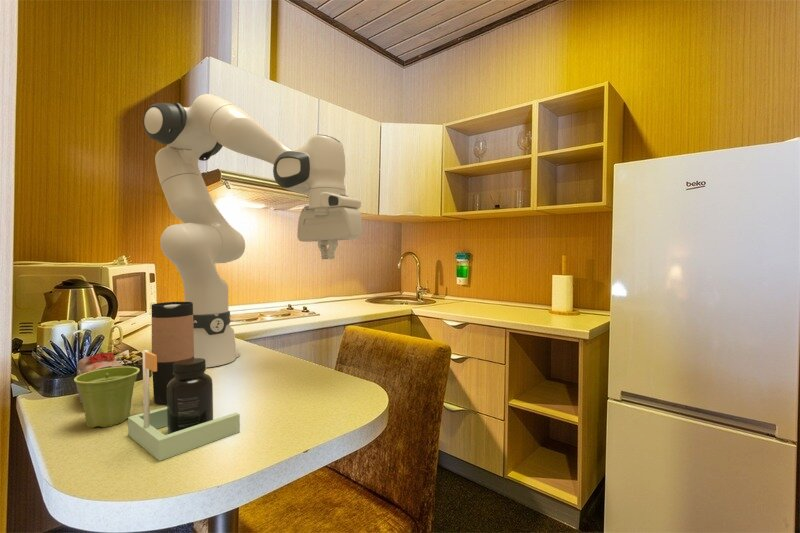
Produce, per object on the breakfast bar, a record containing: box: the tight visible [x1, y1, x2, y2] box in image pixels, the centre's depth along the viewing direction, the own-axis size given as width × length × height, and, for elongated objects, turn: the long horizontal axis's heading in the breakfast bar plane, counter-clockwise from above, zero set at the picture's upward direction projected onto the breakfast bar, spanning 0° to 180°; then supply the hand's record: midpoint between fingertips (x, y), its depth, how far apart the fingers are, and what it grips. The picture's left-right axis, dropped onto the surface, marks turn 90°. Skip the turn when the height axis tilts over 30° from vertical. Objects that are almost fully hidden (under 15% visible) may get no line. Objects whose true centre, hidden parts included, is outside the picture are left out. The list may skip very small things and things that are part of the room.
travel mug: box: [151, 301, 194, 406], centre depth 81 cm, size 8×8×20 cm
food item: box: [75, 351, 126, 405], centre depth 81 cm, size 14×8×10 cm, turn 48°
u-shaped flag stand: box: [127, 349, 241, 462], centre depth 65 cm, size 13×12×15 cm
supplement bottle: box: [166, 358, 214, 434], centre depth 65 cm, size 7×7×12 cm
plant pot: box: [73, 366, 140, 428], centre depth 70 cm, size 9×9×9 cm
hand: (327, 259), depth 95 cm, fingers closed
